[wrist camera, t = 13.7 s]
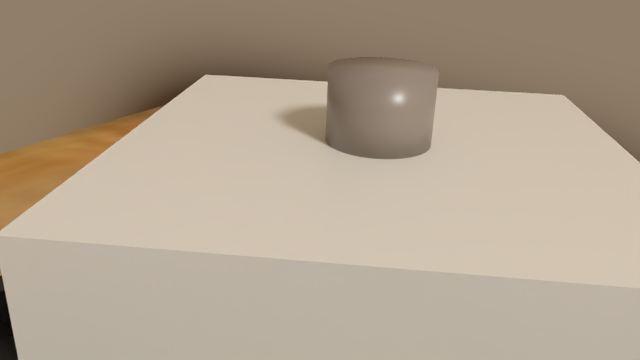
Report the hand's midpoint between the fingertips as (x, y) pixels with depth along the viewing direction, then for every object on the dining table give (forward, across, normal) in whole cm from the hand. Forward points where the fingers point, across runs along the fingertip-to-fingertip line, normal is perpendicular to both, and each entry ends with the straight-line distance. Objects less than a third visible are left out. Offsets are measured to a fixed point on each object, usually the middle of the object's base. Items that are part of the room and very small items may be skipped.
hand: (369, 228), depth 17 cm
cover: (-5, 0, -8) cm, 9 cm away
